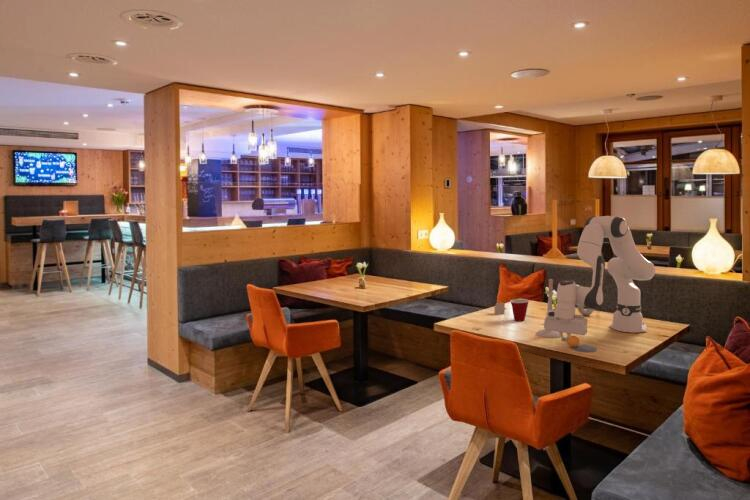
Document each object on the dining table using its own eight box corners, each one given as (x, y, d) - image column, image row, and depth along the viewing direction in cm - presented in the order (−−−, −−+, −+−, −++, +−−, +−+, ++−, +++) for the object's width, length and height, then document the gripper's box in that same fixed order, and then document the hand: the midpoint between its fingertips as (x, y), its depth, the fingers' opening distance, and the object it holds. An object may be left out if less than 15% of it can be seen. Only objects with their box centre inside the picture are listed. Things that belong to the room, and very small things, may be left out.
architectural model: (493, 313, 344) (494, 301, 343) (505, 313, 344) (505, 301, 343) (495, 315, 340) (495, 303, 339) (506, 315, 340) (506, 303, 340)
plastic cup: (513, 317, 332) (514, 297, 331) (531, 319, 326) (531, 299, 325) (506, 320, 324) (507, 300, 322) (524, 323, 317) (525, 302, 316)
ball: (573, 332, 273) (583, 339, 270) (567, 340, 275) (577, 347, 273) (569, 335, 269) (579, 342, 266) (563, 343, 271) (573, 350, 269)
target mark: (574, 343, 277) (574, 343, 277) (599, 347, 270) (599, 347, 270) (566, 349, 267) (566, 348, 267) (592, 353, 260) (592, 353, 260)
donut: (578, 316, 335) (578, 299, 334) (576, 314, 338) (577, 298, 337) (595, 316, 334) (595, 299, 333) (593, 314, 338) (593, 298, 337)
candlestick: (531, 332, 297) (533, 277, 294) (551, 330, 302) (553, 275, 298) (546, 339, 285) (548, 281, 282) (567, 336, 290) (569, 279, 286)
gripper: (589, 315, 268) (588, 343, 270) (547, 309, 281) (546, 336, 282) (585, 317, 263) (584, 346, 265) (543, 312, 275) (542, 339, 277)
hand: (564, 341), depth 274 cm, fingers closed
